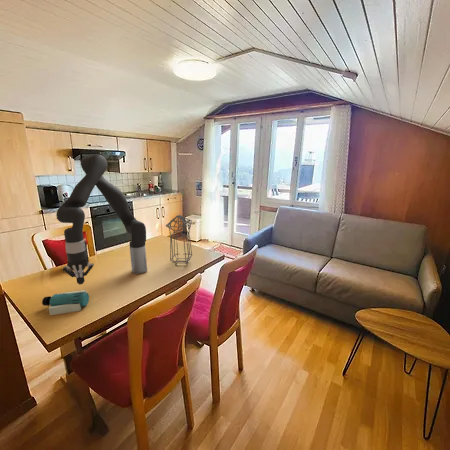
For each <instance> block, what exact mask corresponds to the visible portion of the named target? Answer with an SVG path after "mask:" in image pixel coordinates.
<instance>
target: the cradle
mask: <svg viewBox="0 0 450 450" xmlns="http://www.w3.org/2000/svg"><path fill="white" fill-rule="evenodd" d="M63 293H64V292H60V293H59V292H58V294H63ZM65 293H68V294H69V293H88V292H87V289H85V290H84V289H83V290H77V291H76V290H74V291H69V292H66V291H65ZM82 308H83V306H80V303H79V304H65V305H58V306H51V305H50V306H48V311H49V316H53V315H61V314H68V313H73V312H81V311H82Z"/></svg>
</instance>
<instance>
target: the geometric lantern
mask: <svg viewBox="0 0 450 450" xmlns="http://www.w3.org/2000/svg"><path fill="white" fill-rule="evenodd" d="M172 223H174V225H172ZM182 223H183V224H182ZM192 223H193V220H191V219H189V218H187V217H185V216H183V215H181V214H178V215H176V216H174V218H172V219H171V220H170V221H169V222H168V223H167V224H165V227H166V228H168V229H169V236H170V238H169V239H170V241H169V242H170V243H169V244H170V245H169V247H170V248H169V249H170V253H169V254H170V255H169V257H170V261H169V262H172V263H174V264H175V265H176V266H175V267H180V266H179V265H178V263H189V262H188V261H191V259H192V257H193V251H192V245H191V244H192V243H191V237H190V233H191V225H192ZM176 224H177V226H176ZM176 228H177V229H176ZM187 228H188V229H187ZM175 229H176V230H175ZM183 229H185V231H186V235H185V236H184V234H183V232H182V231H181V230H183ZM171 230H172V231H173V232H171ZM178 232H179V233H180V235H182V238H183V248H184V249H183V251H184V257H182V258H180V257H179V252H178V251H179V250H178V249H179V248H178V244H175V243H176V242H175V240H176V239H178V238H180V236H178ZM175 233H176V235H175ZM185 239H186V240H185ZM175 246H176V247H175ZM175 248H176V250H175ZM186 249H187V253H186ZM175 252H176V253H175ZM174 257H175V259H176V260H174ZM176 262H177V263H176Z"/></svg>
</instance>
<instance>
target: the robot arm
mask: <svg viewBox="0 0 450 450" xmlns="http://www.w3.org/2000/svg"><path fill="white" fill-rule="evenodd" d="M80 166H81V169H82V171H83V172H84V174H85V176H83V177H82V179H80V181H79V182H77V184H76V185H75V186H74V187H73V189H72V192H71V193H70V195H69V197H68V198H67V199H66V200H65V201H64V202H63V203H62V204H61V205H60V206H59V207H58V209H57V211H56V215H55V217H56V219H57V220H58V222H60V223H64V224H72V226H71V227H67V228H66V229H65V230H64V231H63V232H64V233H63V235H64V240H65V241H64V242H65V254H66V257H67V265H65V266H64V267H63V268H62V271H64V273H66V275H69V276H70V277H71V278H76V283H77V284H78V285H83V284H84V283H85V281H86V280H85V276H87V275H88V274H89V272H91V270H92V269H93V267H94V265H95V264H94V263H91V262H90V260H89V261H88V260H87V256H86V248H85V243H84V239H83V238H84V231H83V230H84V224H85V219H86V218H85V217H86V214H85V212H84V210H83V209H82V208H83V207H85V206H86V205H87V202H88V200H89V198H90V195H91V194H92V192H93V190H94V188H95V186H96V188H97V189H98V191H99V192H100V193H101V194H102V196H103V197H104V199H105V200H106V202H107V203H108V205H109V206H110V207H111V209H112V210H113V212H114V213H115V214H116V216H117V217H118V218H119V219H120V221H121V222H122V225H123V226H124V228H125V230H126V232H127V233H129V234H130V235H131V240H130V242H129V255H130V264H131V265H130V266H131V267H130V268H131V273H132V274H135V275H137V274H138V275H139V274H144V273H146V272H148V267H147V266H148V265H147V261H148V260H147V252H146V250H147V249H146V242H147V228H146V225H145V224H144V222H142V221H140V220H137V218H136V217H135V216H134V214H133V213H132V212H131V209H130V206H129V203H128V200H127V199H126V197H125V195H124V194H123V192H122V191H121V189H119V188H118V187H117V186H115V185H114V184H112V183H111V182H109V181H108V180H107V179H106V178H105V177H104V176H103V175H104V174H105V172H106V170H108V161H107V159H106V157H104V156H103V155H101V154H92V155H90V156H86V157H84V158H82V159H81V160H80ZM86 267H87V268H86ZM85 269H86V270H85Z"/></svg>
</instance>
